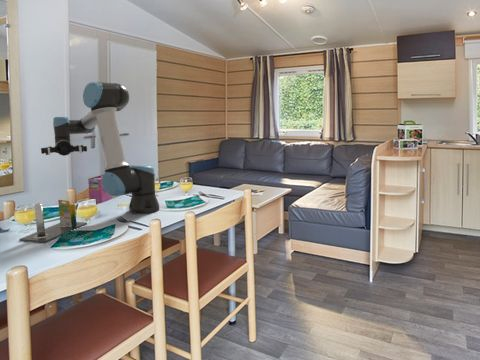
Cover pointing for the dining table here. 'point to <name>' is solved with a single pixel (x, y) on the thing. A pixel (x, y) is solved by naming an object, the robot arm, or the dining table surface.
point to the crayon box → (67, 214)
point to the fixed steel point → (39, 220)
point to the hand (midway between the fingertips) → (65, 151)
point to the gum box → (98, 190)
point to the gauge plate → (51, 233)
